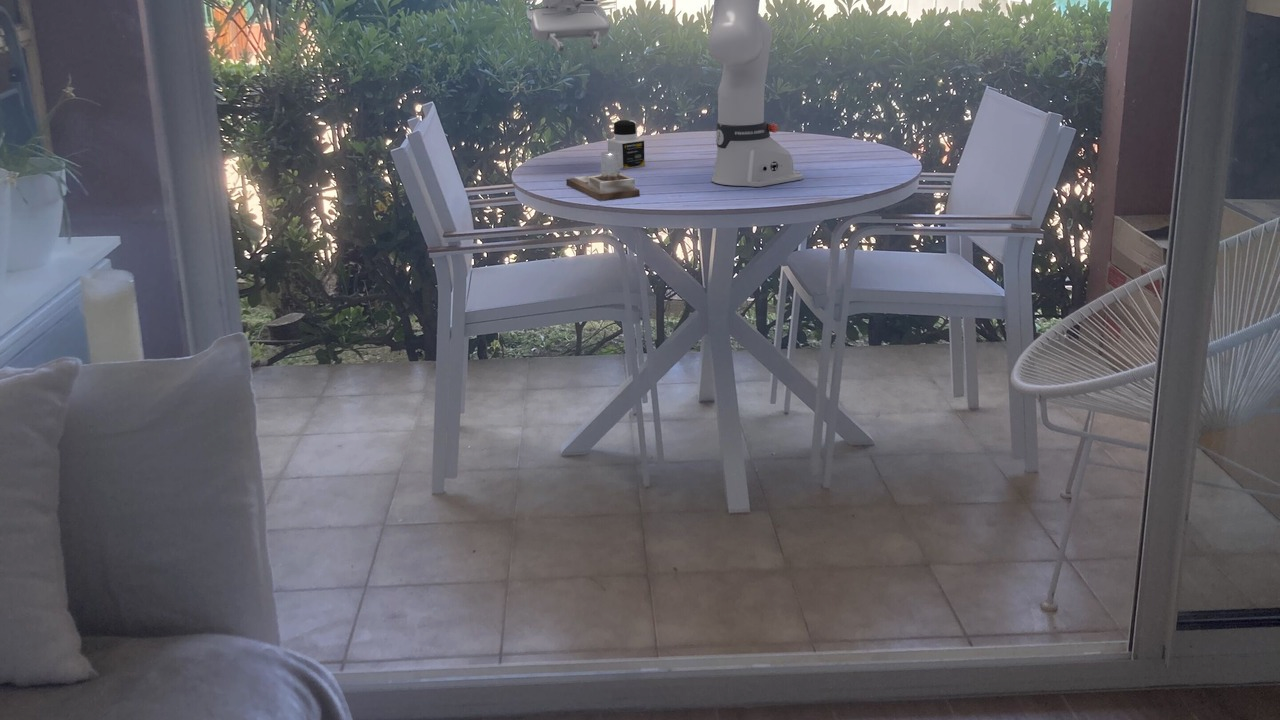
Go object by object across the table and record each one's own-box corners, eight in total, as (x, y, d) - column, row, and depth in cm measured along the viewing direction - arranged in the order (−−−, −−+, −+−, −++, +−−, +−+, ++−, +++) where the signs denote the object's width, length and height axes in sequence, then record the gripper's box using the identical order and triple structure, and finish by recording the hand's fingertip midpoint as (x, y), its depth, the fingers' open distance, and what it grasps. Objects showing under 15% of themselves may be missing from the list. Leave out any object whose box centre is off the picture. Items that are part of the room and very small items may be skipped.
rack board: (604, 180, 285) (603, 164, 283) (639, 196, 266) (639, 179, 264) (566, 184, 281) (565, 168, 280) (599, 200, 262) (599, 183, 261)
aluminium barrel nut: (616, 184, 270) (615, 150, 267) (623, 188, 266) (622, 153, 263) (599, 186, 269) (598, 152, 266) (605, 189, 265) (604, 155, 262)
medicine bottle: (623, 169, 299) (622, 123, 295) (607, 166, 304) (606, 120, 300) (645, 166, 303) (644, 120, 298) (629, 162, 308) (628, 118, 304)
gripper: (526, -1, 282) (541, 42, 277) (602, -5, 290) (618, 37, 284) (521, 17, 287) (536, 59, 282) (596, 13, 295) (612, 54, 290)
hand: (578, 48), depth 283 cm, fingers open, 8 cm apart
